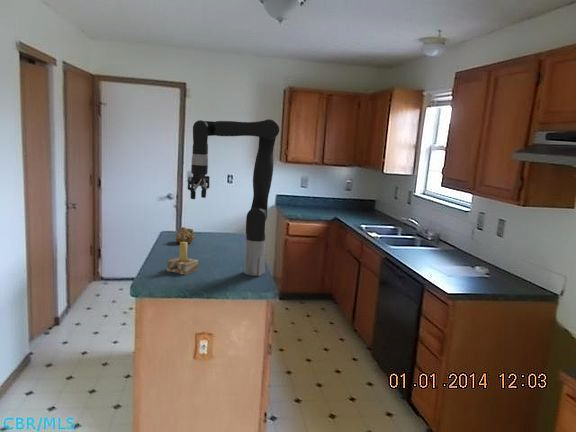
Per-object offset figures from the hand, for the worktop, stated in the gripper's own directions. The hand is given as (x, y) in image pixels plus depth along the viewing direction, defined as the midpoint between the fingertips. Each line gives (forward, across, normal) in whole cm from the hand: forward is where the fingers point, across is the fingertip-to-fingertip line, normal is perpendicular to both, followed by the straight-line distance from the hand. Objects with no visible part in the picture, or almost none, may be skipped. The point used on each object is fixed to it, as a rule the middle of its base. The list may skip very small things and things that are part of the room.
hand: (198, 198), depth 211 cm
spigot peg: (+36, -2, +6) cm, 37 cm away
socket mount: (+36, -4, +6) cm, 37 cm away
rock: (+36, +44, +39) cm, 69 cm away
